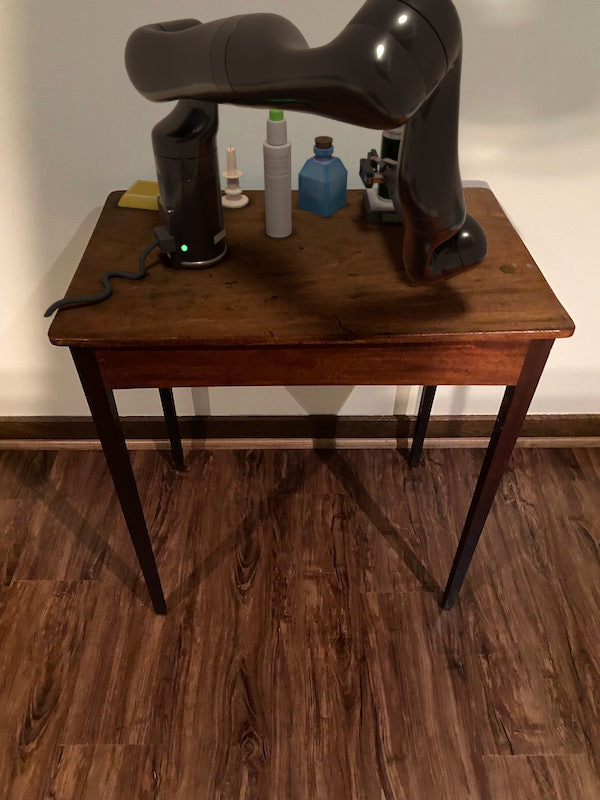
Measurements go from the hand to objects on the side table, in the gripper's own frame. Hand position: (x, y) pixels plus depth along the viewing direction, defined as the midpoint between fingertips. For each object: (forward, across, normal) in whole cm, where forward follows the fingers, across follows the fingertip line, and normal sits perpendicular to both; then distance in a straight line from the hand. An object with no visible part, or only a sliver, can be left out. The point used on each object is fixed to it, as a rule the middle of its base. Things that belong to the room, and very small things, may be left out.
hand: (398, 154), depth 109 cm
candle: (+8, +28, +12) cm, 31 cm away
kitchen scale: (+2, 0, +11) cm, 12 cm away
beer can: (+2, 0, +9) cm, 9 cm away
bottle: (-4, +20, +12) cm, 23 cm away
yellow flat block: (+11, +43, +9) cm, 46 cm away
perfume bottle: (+6, +12, +12) cm, 17 cm away
